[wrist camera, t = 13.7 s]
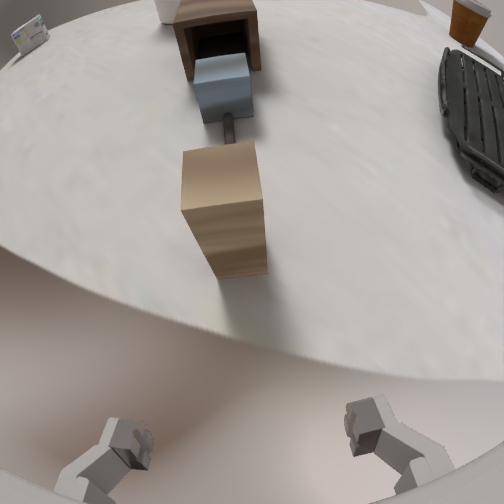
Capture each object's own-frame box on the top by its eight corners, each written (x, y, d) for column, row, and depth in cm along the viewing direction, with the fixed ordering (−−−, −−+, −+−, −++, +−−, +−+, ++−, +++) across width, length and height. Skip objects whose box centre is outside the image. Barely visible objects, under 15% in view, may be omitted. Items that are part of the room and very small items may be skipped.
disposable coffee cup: (455, 31, 41) (466, -6, 30) (485, 52, 37) (498, 14, 26) (435, 28, 40) (445, -13, 29) (467, 50, 36) (481, 7, 25)
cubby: (260, 70, 31) (256, 10, 23) (187, 80, 31) (172, 23, 23) (248, 29, 37) (244, -15, 29) (193, 37, 37) (183, -6, 29)
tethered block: (278, 271, 20) (280, 197, 12) (206, 280, 21) (164, 212, 12) (248, 89, 29) (241, 19, 21) (204, 96, 29) (188, 27, 21)
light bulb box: (50, 35, 59) (39, 13, 49) (49, 39, 56) (38, 16, 46) (24, 52, 57) (13, 31, 47) (22, 57, 54) (10, 35, 45)
